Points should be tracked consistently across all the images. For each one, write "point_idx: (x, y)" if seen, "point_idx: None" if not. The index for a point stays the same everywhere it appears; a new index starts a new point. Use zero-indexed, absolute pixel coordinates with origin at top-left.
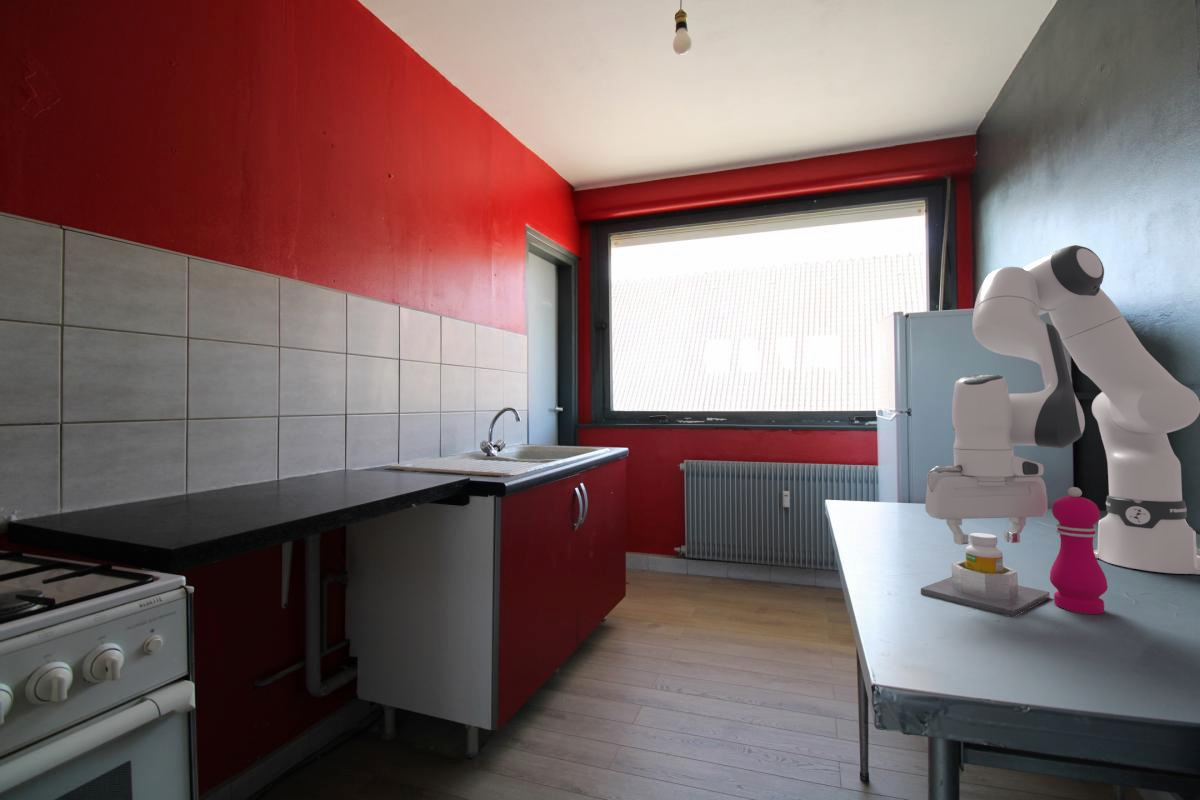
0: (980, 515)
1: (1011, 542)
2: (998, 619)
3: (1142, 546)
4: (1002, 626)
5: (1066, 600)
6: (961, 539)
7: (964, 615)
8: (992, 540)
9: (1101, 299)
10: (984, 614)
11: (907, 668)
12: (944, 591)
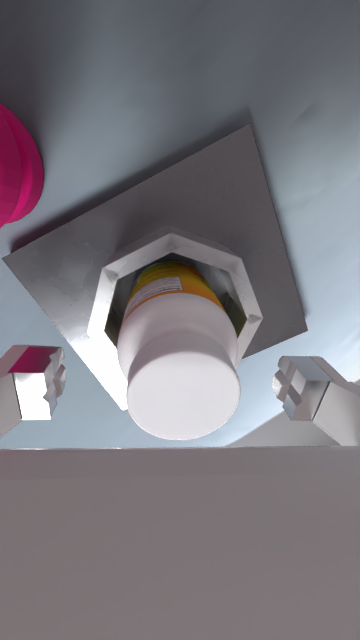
0: (337, 464)
1: (62, 348)
2: (297, 121)
3: None
4: (341, 63)
5: (26, 146)
6: (327, 367)
7: (349, 171)
8: (186, 342)
9: None
10: (295, 167)
11: None
12: (278, 302)
